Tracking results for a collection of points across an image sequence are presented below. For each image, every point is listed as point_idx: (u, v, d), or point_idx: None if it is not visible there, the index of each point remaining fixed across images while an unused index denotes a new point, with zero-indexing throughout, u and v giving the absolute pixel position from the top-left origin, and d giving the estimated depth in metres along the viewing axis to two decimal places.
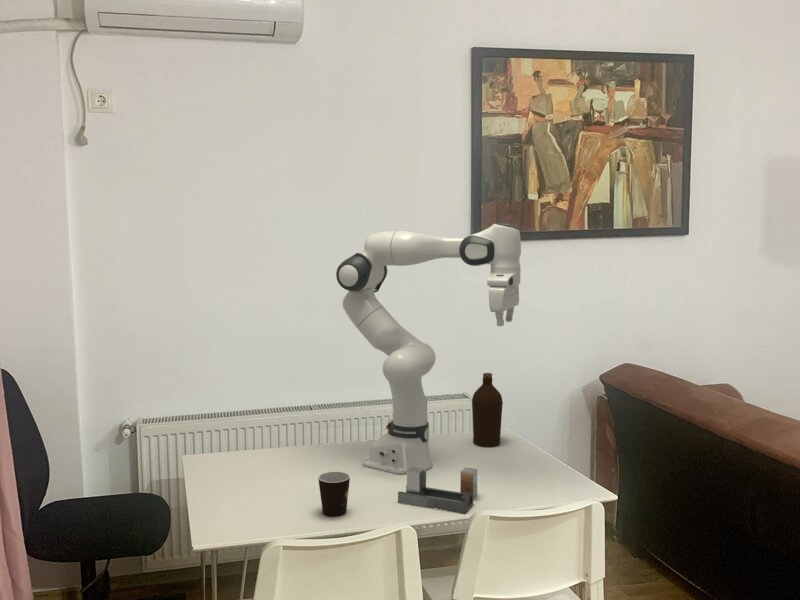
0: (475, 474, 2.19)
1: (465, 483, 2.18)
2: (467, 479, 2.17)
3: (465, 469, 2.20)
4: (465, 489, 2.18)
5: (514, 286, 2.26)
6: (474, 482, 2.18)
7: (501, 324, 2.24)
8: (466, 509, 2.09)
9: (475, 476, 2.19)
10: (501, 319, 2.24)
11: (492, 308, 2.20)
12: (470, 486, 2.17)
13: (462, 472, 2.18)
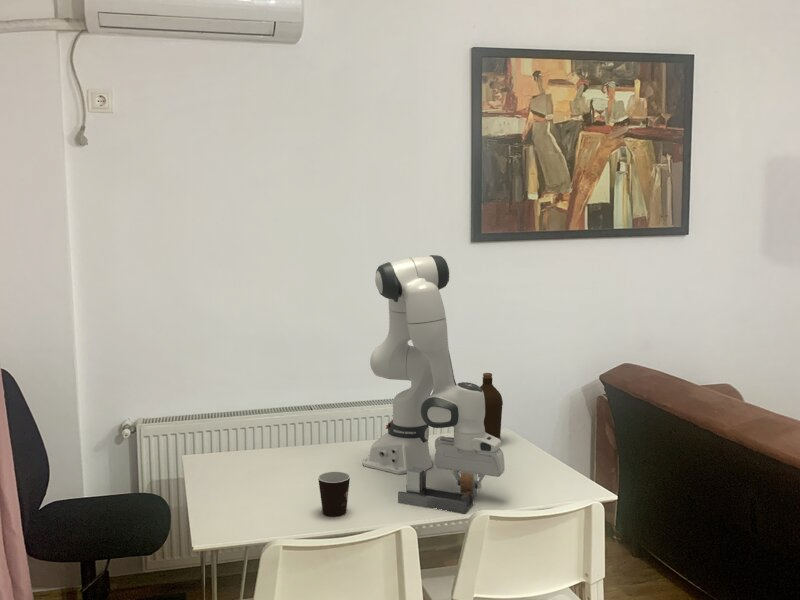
0: (475, 474, 2.19)
1: (465, 483, 2.18)
2: (467, 479, 2.17)
3: None
4: (465, 489, 2.18)
5: None
6: None
7: (480, 485, 2.19)
8: (466, 509, 2.09)
9: (475, 476, 2.19)
10: (481, 480, 2.19)
11: (502, 472, 2.15)
12: (470, 486, 2.17)
13: (462, 472, 2.18)
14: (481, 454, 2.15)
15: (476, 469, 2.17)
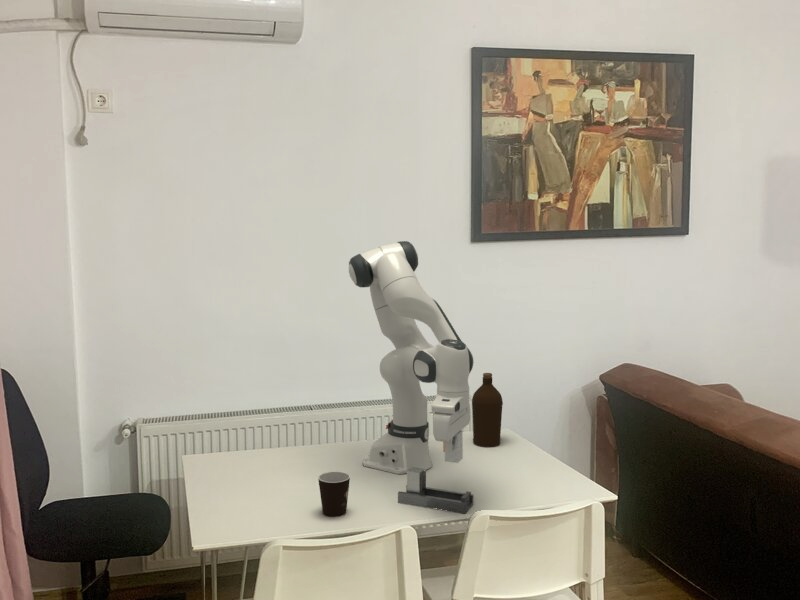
0: None
1: None
2: None
3: None
4: None
5: (462, 409, 2.08)
6: None
7: (450, 450, 2.08)
8: (466, 509, 2.09)
9: None
10: (450, 444, 2.08)
11: (437, 437, 2.02)
12: None
13: None
14: None
15: None
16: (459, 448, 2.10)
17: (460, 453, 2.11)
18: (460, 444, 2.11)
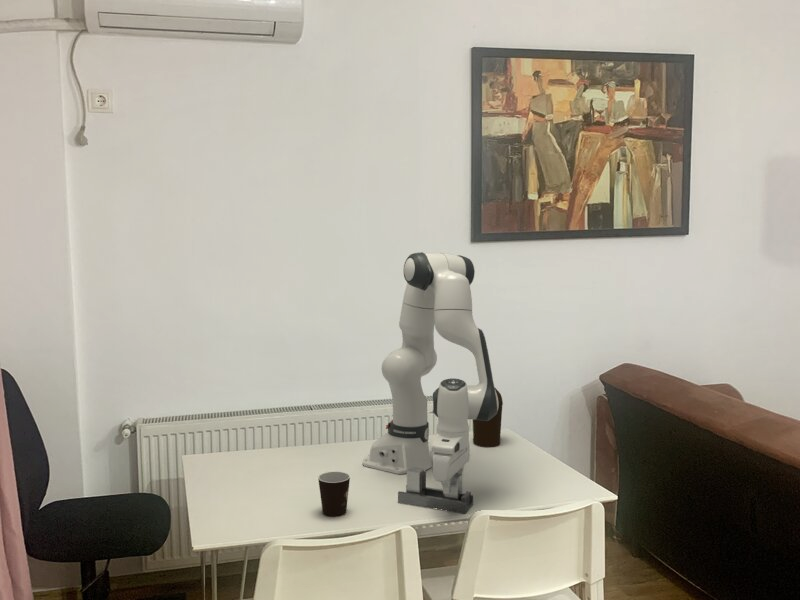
0: (450, 481, 2.11)
1: None
2: None
3: (455, 474, 2.13)
4: None
5: (462, 449, 2.10)
6: None
7: (447, 491, 2.08)
8: (466, 509, 2.09)
9: (451, 483, 2.11)
10: (447, 486, 2.07)
11: (437, 478, 2.03)
12: None
13: None
14: None
15: None
16: (459, 492, 2.12)
17: (460, 496, 2.13)
18: (460, 487, 2.12)
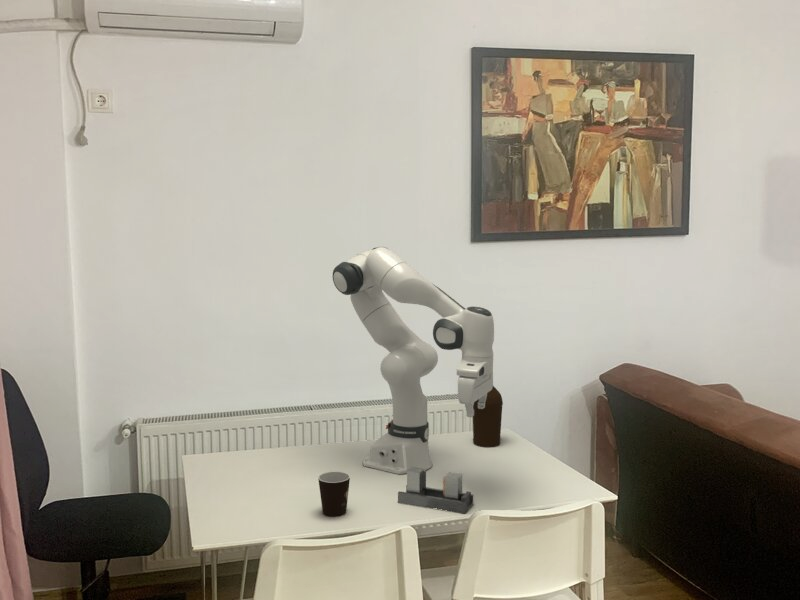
0: (450, 481, 2.11)
1: None
2: None
3: (455, 474, 2.13)
4: None
5: (486, 374, 2.15)
6: (448, 487, 2.11)
7: (471, 415, 2.13)
8: (466, 509, 2.09)
9: (451, 483, 2.11)
10: (471, 410, 2.13)
11: (461, 400, 2.09)
12: None
13: None
14: None
15: None
16: (459, 492, 2.12)
17: (460, 496, 2.13)
18: (460, 487, 2.12)
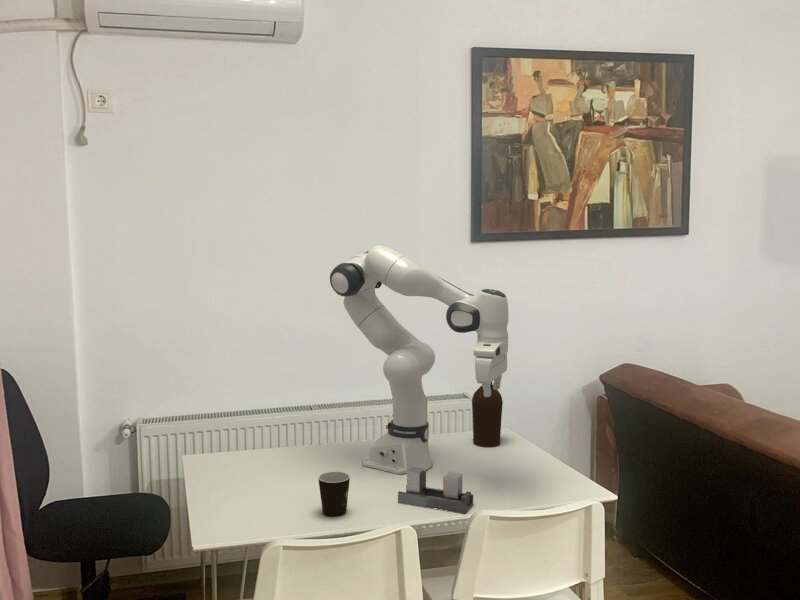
0: (450, 481, 2.11)
1: None
2: None
3: (455, 474, 2.13)
4: None
5: (501, 355, 2.20)
6: (448, 487, 2.11)
7: (488, 395, 2.18)
8: (466, 509, 2.09)
9: (451, 483, 2.11)
10: (488, 390, 2.17)
11: (479, 379, 2.14)
12: None
13: None
14: None
15: None
16: (459, 492, 2.12)
17: (460, 496, 2.13)
18: (460, 487, 2.12)
